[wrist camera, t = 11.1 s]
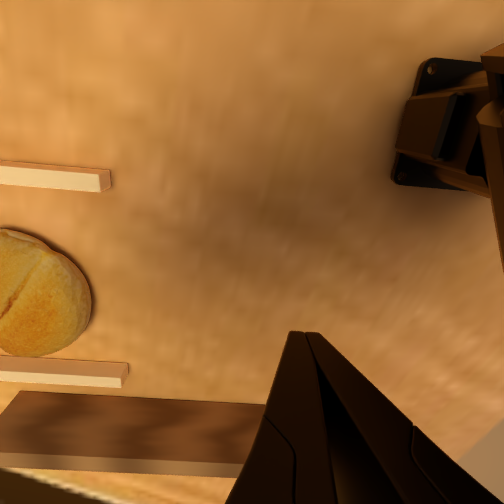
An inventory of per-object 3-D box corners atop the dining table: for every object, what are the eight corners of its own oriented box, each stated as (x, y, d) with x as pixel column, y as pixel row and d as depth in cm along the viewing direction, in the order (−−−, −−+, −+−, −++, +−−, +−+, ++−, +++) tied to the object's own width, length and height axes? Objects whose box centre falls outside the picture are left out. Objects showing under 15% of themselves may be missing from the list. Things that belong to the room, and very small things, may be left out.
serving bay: (109, 170, 19) (98, 174, 17) (128, 372, 25) (121, 387, 24) (-120, 149, 18) (-150, 152, 17) (-40, 362, 24) (-57, 377, 23)
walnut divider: (284, 406, 27) (291, 466, 22) (282, 419, 27) (288, 480, 23) (20, 390, 26) (-30, 450, 21) (24, 404, 26) (-24, 466, 22)
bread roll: (59, 353, 24) (26, 395, 21) (-54, 282, 22) (-115, 316, 18) (122, 290, 22) (98, 325, 19) (5, 202, 19) (-51, 222, 16)
